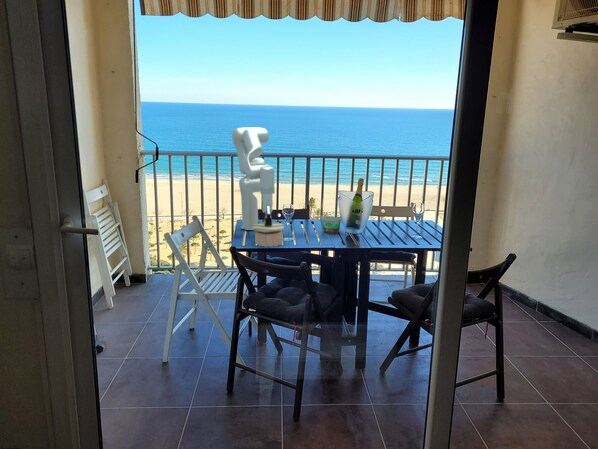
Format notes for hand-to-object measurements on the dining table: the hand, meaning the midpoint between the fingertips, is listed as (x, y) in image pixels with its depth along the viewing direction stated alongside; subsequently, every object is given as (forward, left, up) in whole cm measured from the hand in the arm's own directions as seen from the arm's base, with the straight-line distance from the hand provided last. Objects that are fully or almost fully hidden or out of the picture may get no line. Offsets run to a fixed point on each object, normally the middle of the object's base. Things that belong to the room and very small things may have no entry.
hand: (268, 223), depth 235 cm
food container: (-14, +37, -11) cm, 41 cm away
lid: (0, 0, -2) cm, 2 cm away
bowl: (0, 0, -11) cm, 11 cm away
